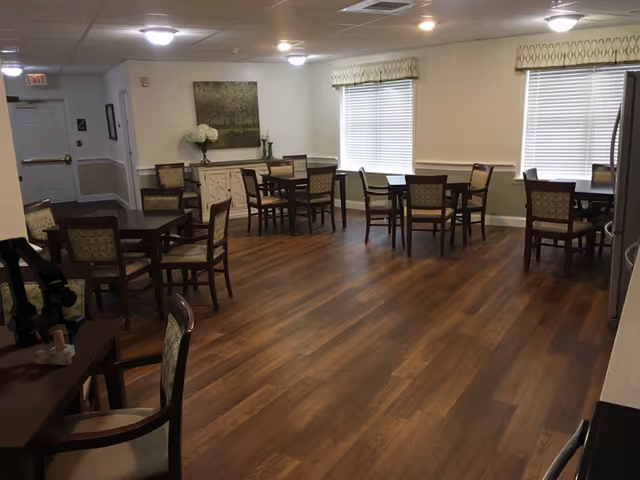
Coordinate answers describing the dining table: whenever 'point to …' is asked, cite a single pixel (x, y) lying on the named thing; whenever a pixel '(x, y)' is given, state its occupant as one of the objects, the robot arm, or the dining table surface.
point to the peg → (59, 340)
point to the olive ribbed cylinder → (69, 314)
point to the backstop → (53, 357)
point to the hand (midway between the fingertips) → (59, 344)
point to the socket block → (66, 349)
